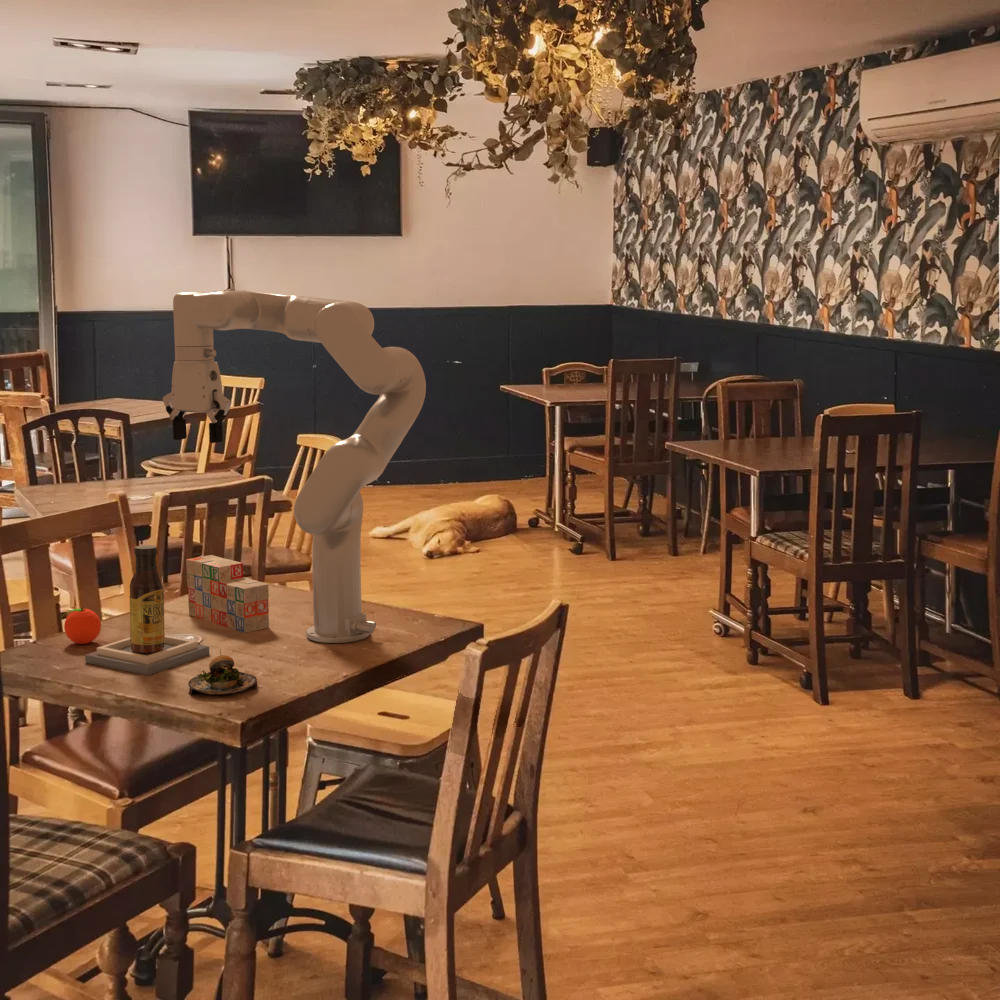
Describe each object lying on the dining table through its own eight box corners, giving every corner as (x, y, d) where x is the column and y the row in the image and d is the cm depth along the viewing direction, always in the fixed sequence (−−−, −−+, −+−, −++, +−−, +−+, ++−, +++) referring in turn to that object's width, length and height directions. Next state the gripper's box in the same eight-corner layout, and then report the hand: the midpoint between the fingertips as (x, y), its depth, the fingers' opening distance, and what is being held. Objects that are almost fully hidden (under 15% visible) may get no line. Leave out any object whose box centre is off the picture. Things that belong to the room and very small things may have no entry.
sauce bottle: (147, 657, 251) (142, 551, 248) (123, 652, 255) (118, 548, 251) (173, 648, 257) (168, 545, 254) (149, 644, 260) (145, 542, 257)
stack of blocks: (270, 628, 278) (268, 569, 276) (244, 633, 274) (242, 574, 272) (213, 609, 293) (211, 553, 291) (187, 614, 289) (185, 557, 287)
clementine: (53, 647, 264) (51, 611, 262) (69, 637, 270) (67, 603, 269) (93, 648, 262) (91, 613, 261) (107, 639, 269) (106, 604, 268)
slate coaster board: (209, 654, 259) (208, 640, 258) (147, 675, 245) (147, 661, 245) (148, 642, 267) (147, 629, 266) (85, 662, 253) (84, 648, 253)
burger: (179, 700, 232) (178, 658, 231) (197, 680, 244) (196, 639, 242) (249, 701, 231) (248, 659, 230) (264, 680, 243) (263, 640, 242)
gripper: (240, 355, 268) (243, 441, 271) (175, 352, 277) (179, 436, 280) (214, 357, 262) (217, 445, 265) (149, 354, 271) (152, 440, 274)
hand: (197, 440), depth 273 cm, fingers open, 9 cm apart
